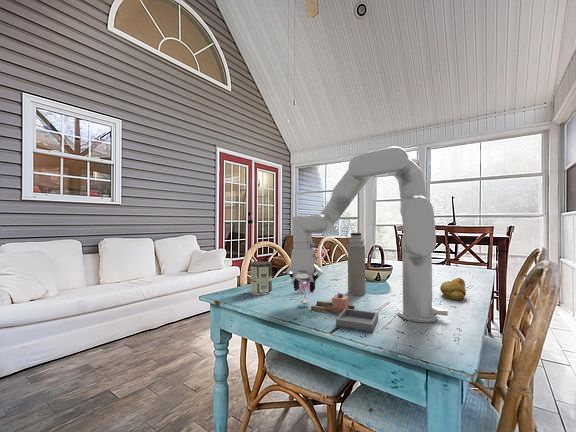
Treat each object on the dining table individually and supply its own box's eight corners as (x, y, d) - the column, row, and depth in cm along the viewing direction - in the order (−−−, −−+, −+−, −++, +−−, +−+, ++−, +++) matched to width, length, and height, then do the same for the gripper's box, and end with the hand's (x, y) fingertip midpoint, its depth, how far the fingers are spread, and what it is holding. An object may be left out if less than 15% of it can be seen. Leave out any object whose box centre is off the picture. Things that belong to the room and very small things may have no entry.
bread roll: (468, 303, 115) (467, 283, 115) (440, 300, 119) (440, 281, 119) (464, 295, 126) (464, 277, 126) (440, 292, 131) (439, 275, 131)
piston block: (348, 309, 108) (348, 292, 108) (345, 313, 104) (345, 296, 104) (335, 307, 110) (335, 291, 110) (332, 311, 106) (332, 294, 106)
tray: (378, 320, 97) (378, 312, 97) (372, 332, 87) (372, 324, 87) (344, 315, 102) (344, 308, 102) (336, 326, 92) (335, 319, 92)
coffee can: (262, 288, 142) (262, 260, 142) (276, 291, 135) (276, 262, 135) (246, 292, 135) (245, 262, 135) (260, 296, 128) (259, 265, 128)
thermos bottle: (363, 290, 135) (362, 232, 135) (367, 295, 127) (366, 233, 127) (346, 290, 135) (345, 232, 135) (349, 295, 127) (349, 233, 127)
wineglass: (303, 297, 118) (301, 268, 118) (316, 299, 114) (315, 270, 114) (293, 301, 113) (291, 271, 113) (306, 304, 109) (305, 272, 109)
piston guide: (354, 309, 109) (354, 305, 109) (348, 318, 99) (348, 313, 99) (317, 304, 115) (317, 300, 115) (308, 312, 106) (308, 308, 106)
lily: (286, 294, 134) (289, 278, 130) (294, 279, 144) (298, 265, 140) (310, 303, 131) (314, 288, 127) (317, 288, 141) (321, 273, 137)
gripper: (326, 245, 113) (327, 290, 113) (287, 244, 121) (289, 287, 121) (320, 247, 107) (321, 294, 106) (279, 246, 114) (281, 291, 114)
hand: (304, 290), depth 113 cm, fingers closed on wineglass, 6 cm apart
